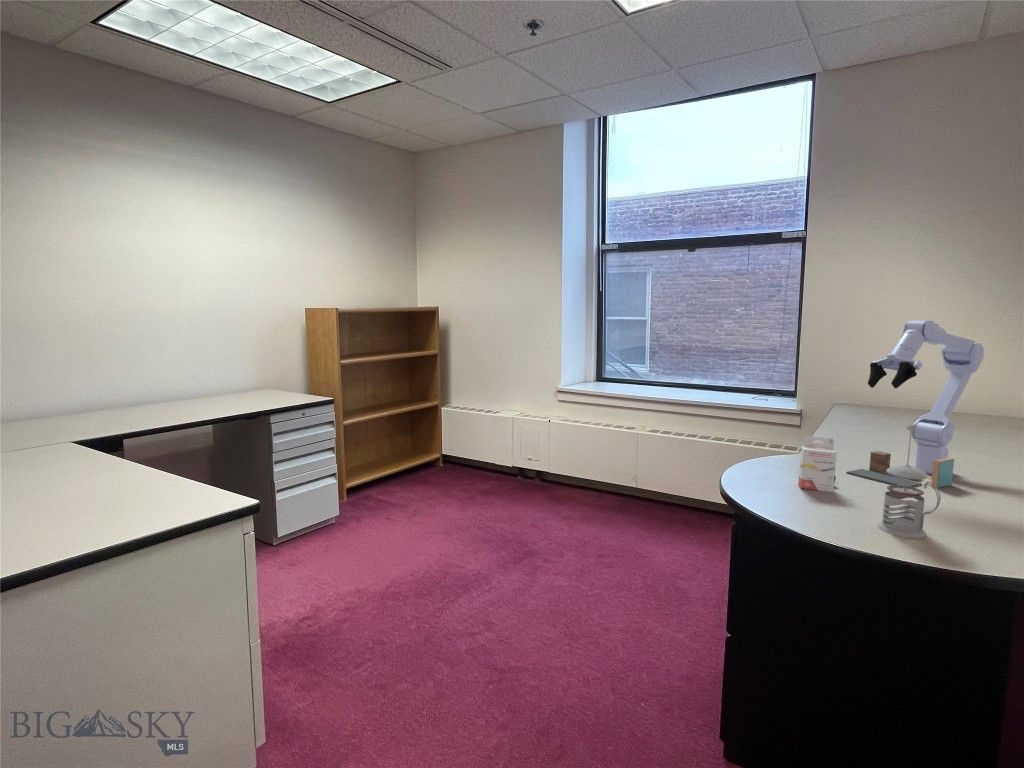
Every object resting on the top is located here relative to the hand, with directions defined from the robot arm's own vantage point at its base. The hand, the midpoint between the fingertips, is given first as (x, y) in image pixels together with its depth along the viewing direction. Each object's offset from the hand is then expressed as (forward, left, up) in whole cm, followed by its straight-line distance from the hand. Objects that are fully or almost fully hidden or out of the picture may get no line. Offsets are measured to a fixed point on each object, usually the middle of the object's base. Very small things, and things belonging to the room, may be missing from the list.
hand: (881, 385), depth 176 cm
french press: (+36, +28, -29) cm, 54 cm away
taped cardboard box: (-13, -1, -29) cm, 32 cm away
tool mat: (-4, 0, -29) cm, 29 cm away
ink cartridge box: (+24, -3, -29) cm, 38 cm away
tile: (-13, +12, -29) cm, 34 cm away
